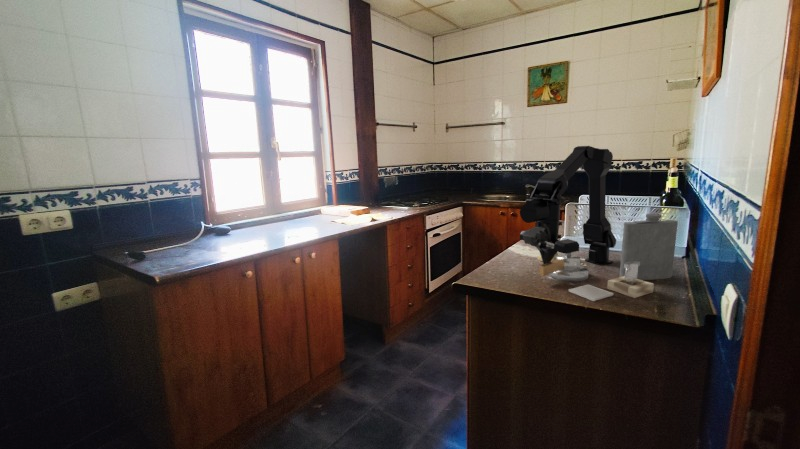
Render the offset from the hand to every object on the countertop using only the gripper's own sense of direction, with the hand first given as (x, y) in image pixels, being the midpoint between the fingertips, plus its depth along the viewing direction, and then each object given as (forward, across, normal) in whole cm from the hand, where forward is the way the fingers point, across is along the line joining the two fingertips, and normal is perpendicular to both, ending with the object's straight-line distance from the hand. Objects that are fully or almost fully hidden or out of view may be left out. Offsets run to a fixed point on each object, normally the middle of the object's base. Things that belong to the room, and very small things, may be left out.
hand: (546, 266), depth 114 cm
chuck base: (+4, 0, +9) cm, 10 cm away
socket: (+4, +18, +13) cm, 23 cm away
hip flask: (+4, +14, +27) cm, 31 cm away
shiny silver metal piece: (+4, +18, +13) cm, 23 cm away
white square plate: (+4, +14, +2) cm, 15 cm away
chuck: (+2, +1, +4) cm, 4 cm away
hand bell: (+5, -15, +17) cm, 23 cm away
